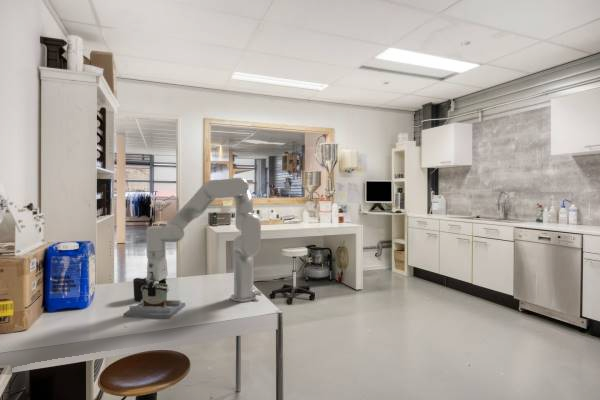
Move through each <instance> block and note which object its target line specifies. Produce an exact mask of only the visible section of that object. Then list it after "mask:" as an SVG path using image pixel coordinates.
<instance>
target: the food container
mask: <svg viewBox="0 0 600 400" xmlns="http://www.w3.org/2000/svg"><path fill="white" fill-rule="evenodd" d="M155 287H156V296H148V287H147V285H143V286H142V287H141V290H142V296H143V306H160V307H166V300H168V299H167V298H168V292H169V291H170V287H169V286H168V284H167V283H166V284H164V283H159V282H156V284H155Z"/></svg>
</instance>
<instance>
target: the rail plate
mask: <svg viewBox="0 0 600 400" xmlns="http://www.w3.org/2000/svg"><path fill="white" fill-rule="evenodd" d="M181 301H182V300H181V299H167V300H166V307H160V306H143V299H142V300H141V302H139V303H138V304H137V305H130V306H129V309H127V311H125V312H123V318H139V319H140V318H142V319H144V318H147V319H171V318H173V317H174V315H176V314H178V313H179V311H181V310H182V309H183V308H185V307H186V302H181Z"/></svg>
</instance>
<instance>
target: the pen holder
mask: <svg viewBox="0 0 600 400" xmlns="http://www.w3.org/2000/svg"><path fill="white" fill-rule="evenodd" d="M146 278H147V277H144V278H141V277H136V278H134V279H133V281H132V282H133V300H134V301H135V302H139V303H141V300H142V299H143V296H142V290H141V287H142V286H143V285H147V284H146ZM152 284H153V282H152Z"/></svg>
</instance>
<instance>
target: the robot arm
mask: <svg viewBox="0 0 600 400" xmlns="http://www.w3.org/2000/svg"><path fill="white" fill-rule="evenodd" d="M249 188H250V187H249V183H248V181H247V180H246V179H245V178H244V177H231V178H225V179H211V180H207V181H205V182H204V183H203V184H202V185H201V187H200V188H198V190H197V191H196V192H195V193H194V195H193V196H192V197H191V198H190V199H189V200H188V201H187V203H185V204H184V205H183V206H182V208H180V209H179V211H177V212H176V214H175V215H173V217H172V218H171V219H170V220H169V221H168V223H167V224H165V226H164V225H163V226H162V225H152V226H147V228H146V231H145V233H146V259H147V266H146V277H145V278H146V284H147V287H148V296H156V287H155V284H156V283H164V284H167V277H168V276H169V275H168V263H167V257H166V256H167V255H166V243H167V242H168V243H178V242H180V241H181V240H183V239H184V237H185V230H184V229H185V228H186V227H187V226H188V225H189V224H190V223H191V222H193V221H194V220H196V219H198V218H199V217H201V216H202V215H203V214H204V213H205V212H206V211H207V209H208V208H209V207H210V206H211V204H212V203H213V202H214V201H215V200H216V199H225V198H226V199H227V198H232V197H233V200H234V202H235V221H234V223H235V224H234V225H235V228H236V229H237V230H238V231H240V232H241V234H238V235H237V236H235V238H234V239H233V242H232V253H233V293H232V295H230V300H231V301H233V302H241V303H243V302H246V303H247V302H251V301H254V300H255V299H256V298H257V296H263V295H262V294H263V291H261V290H256V289H255V287H254V257H255V256H256V255H257V254H258V253H259V251H260V249H261V239H262V237H261V235H262V229H261V228H262V225H261V221H260V218H259V217H258V216H257V215H256V214H254V201H253V196H252V194H251V192H250V190H249ZM152 282H153V284H152Z"/></svg>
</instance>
